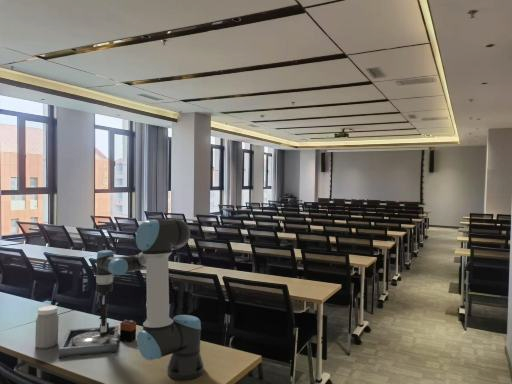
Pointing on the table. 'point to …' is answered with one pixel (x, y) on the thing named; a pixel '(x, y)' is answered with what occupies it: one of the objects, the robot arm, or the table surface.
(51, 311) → the jar
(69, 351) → the housing
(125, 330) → the battery
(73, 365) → the table surface
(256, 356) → the table surface
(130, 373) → the table surface
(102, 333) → the dial
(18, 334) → the table surface
